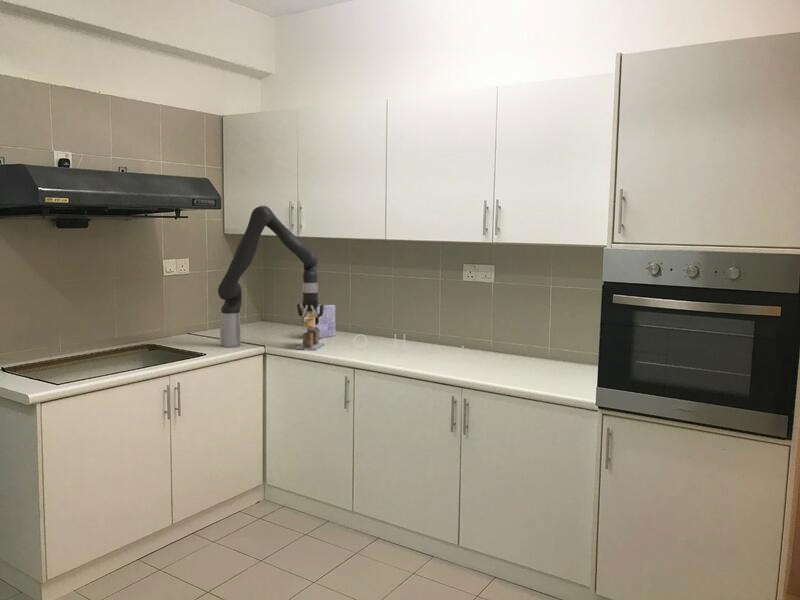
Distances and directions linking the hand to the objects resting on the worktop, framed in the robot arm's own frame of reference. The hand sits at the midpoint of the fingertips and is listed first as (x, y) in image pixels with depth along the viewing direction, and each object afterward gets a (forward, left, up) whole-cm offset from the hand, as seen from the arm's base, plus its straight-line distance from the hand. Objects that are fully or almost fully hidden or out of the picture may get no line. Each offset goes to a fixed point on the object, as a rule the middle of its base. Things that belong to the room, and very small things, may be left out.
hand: (310, 324), depth 328 cm
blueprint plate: (0, 0, -12) cm, 12 cm away
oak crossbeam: (0, 0, -1) cm, 1 cm away
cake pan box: (-3, +28, -12) cm, 31 cm away
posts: (0, 0, -12) cm, 12 cm away
